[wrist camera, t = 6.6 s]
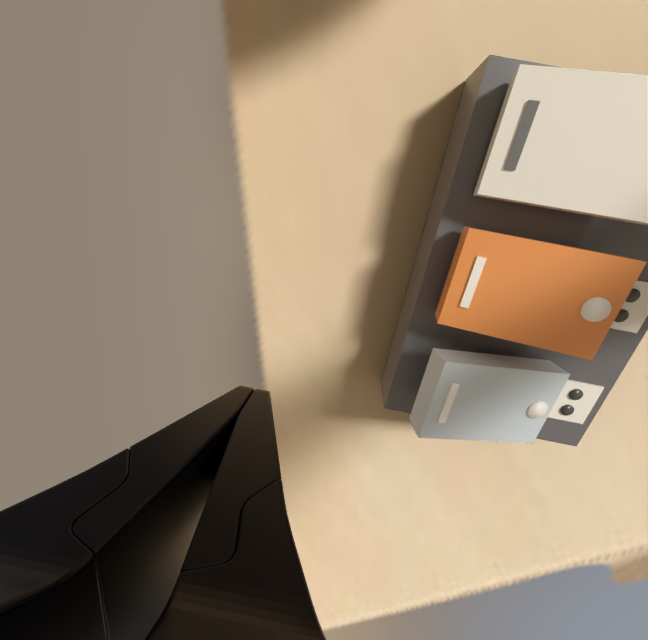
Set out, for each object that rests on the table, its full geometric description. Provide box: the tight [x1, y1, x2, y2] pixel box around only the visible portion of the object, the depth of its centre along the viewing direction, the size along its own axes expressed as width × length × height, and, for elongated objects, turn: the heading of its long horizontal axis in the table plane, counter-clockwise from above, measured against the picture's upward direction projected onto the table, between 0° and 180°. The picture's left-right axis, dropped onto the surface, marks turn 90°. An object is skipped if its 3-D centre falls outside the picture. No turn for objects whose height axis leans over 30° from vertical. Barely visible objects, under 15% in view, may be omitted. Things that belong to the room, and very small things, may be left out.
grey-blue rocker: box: [409, 348, 570, 443], centre depth 17 cm, size 7×5×2 cm, turn 80°
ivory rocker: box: [473, 64, 648, 225], centre depth 13 cm, size 7×5×2 cm, turn 80°
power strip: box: [381, 55, 648, 446], centre depth 17 cm, size 12×18×4 cm, turn 170°
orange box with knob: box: [435, 226, 647, 360], centre depth 15 cm, size 7×5×2 cm, turn 80°
